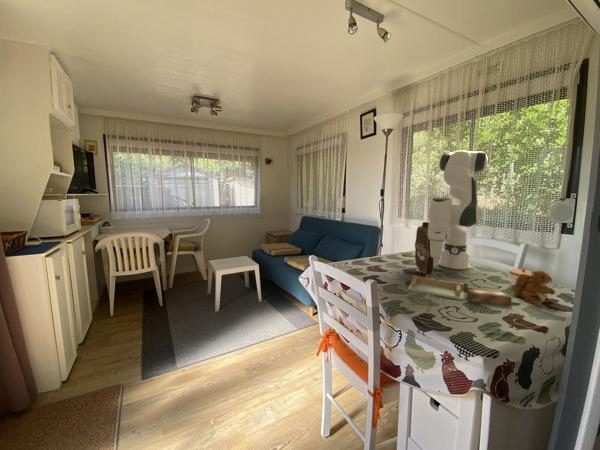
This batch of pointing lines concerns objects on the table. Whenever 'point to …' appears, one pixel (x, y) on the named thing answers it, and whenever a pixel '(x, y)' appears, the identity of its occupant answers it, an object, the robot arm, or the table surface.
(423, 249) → the decorative plaque
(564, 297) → the table surface
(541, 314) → the table surface
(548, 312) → the table surface
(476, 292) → the brown rectangular block
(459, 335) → the table surface
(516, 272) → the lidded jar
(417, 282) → the shallow tray
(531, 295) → the stuffed squirrel
